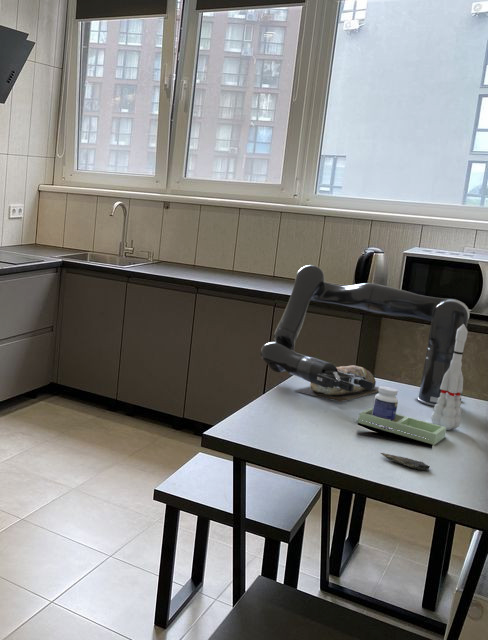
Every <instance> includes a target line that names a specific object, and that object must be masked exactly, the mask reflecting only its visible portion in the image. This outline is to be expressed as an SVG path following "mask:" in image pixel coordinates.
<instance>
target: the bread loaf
mask: <svg viewBox="0 0 488 640" xmlns="http://www.w3.org/2000/svg"><path fill="white" fill-rule="evenodd" d="M336 368H337V370H338V371H341V372H344V373H347V372H350V373H353V374H356V375H359V376H363V377H366V380H367V381H370V382H373V383H374V388H373V390H369V389H366V388H363V387H359V386H355V385H354V388H353V391H351V392H350V391H347V390H344V389H341V388H336V387H334V388H330V387H322V386H320V385H317V384H314V383H311V382H310V383H309V385H310V387H305V388H302V389H299V390H297V392H298V393H302V394H306V395H310V396H313V397H318V398H322V399H326V400H331V401H335V402H339V403H341V402H345V401H349V400H353V399H357V398H360V397H364V396H369V395H371V394H377V393H379V391H378V389H379V386H376V383H377V382H376V378H375V376H374V375H373V374H372V373H371V371H370V370H368V369H366V368H365V367H362V366H358V365H354V364H353V365H347V366H346V365H343V366H342V365H341V366H336ZM358 382H359V380H358ZM349 383H351V382H349Z"/></svg>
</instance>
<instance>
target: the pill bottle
mask: <svg viewBox="0 0 488 640" xmlns="http://www.w3.org/2000/svg"><path fill="white" fill-rule="evenodd" d="M378 388H379V389H378V391H379V392H378V393H376V394H375V396H374V400H373V406H372V407H373V411H372V416H376V417H379V418H383V419H386V420H390V421H395V415H396V414H397V409H398V403H399V399H398V398H397V395H398V392H399V391H398V389H397V388H394V387H390V386H384V385H380V386H378Z"/></svg>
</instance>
